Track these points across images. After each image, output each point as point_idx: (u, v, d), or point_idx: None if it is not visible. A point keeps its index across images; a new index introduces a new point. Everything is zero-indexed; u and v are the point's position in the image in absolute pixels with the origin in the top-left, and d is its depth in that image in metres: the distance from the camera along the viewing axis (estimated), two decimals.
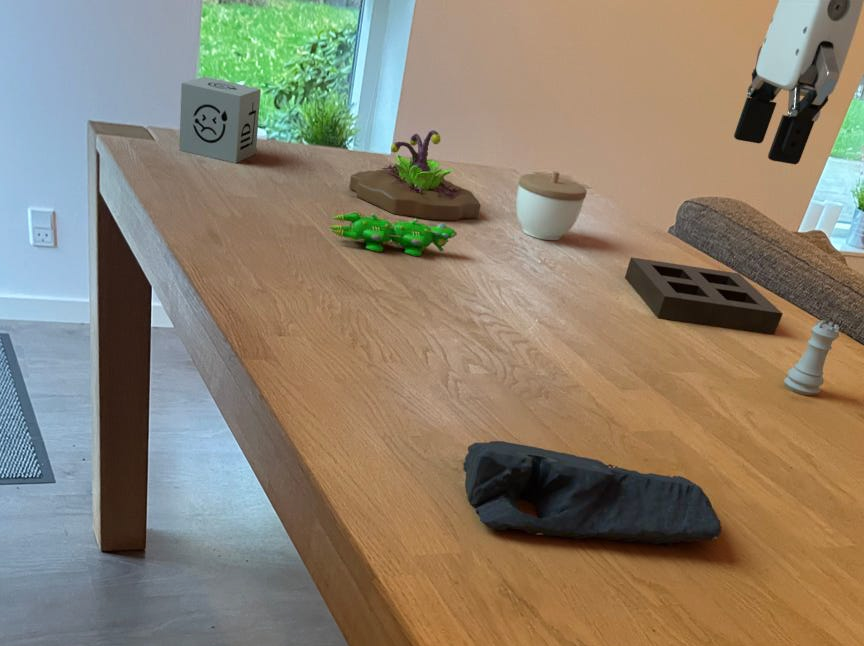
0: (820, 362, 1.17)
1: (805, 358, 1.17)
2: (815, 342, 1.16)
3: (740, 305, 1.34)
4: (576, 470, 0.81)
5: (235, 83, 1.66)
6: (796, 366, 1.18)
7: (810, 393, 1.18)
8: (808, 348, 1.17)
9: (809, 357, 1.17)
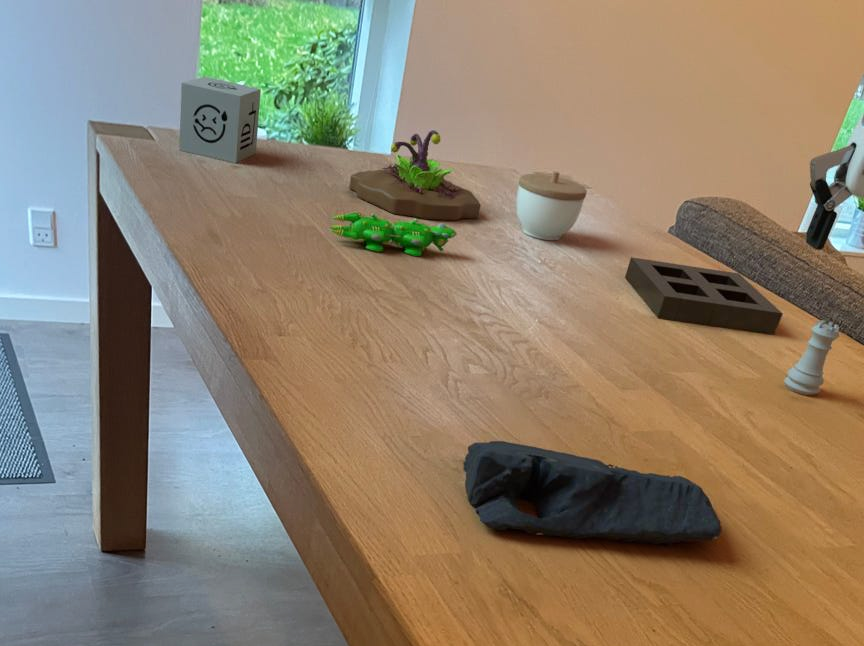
0: (820, 362, 1.17)
1: (805, 358, 1.17)
2: (815, 342, 1.16)
3: (740, 305, 1.34)
4: (576, 470, 0.81)
5: (235, 83, 1.66)
6: (796, 366, 1.18)
7: (810, 393, 1.18)
8: (808, 348, 1.17)
9: (809, 357, 1.17)
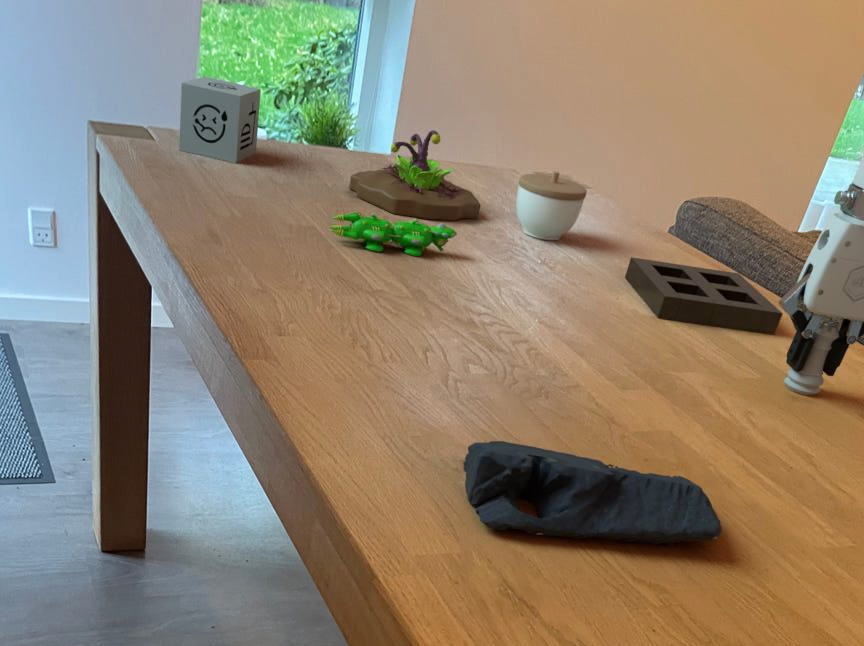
0: (820, 362, 1.17)
1: None
2: (815, 342, 1.16)
3: (740, 305, 1.34)
4: (576, 470, 0.81)
5: (235, 83, 1.66)
6: None
7: (810, 393, 1.18)
8: None
9: (809, 357, 1.17)
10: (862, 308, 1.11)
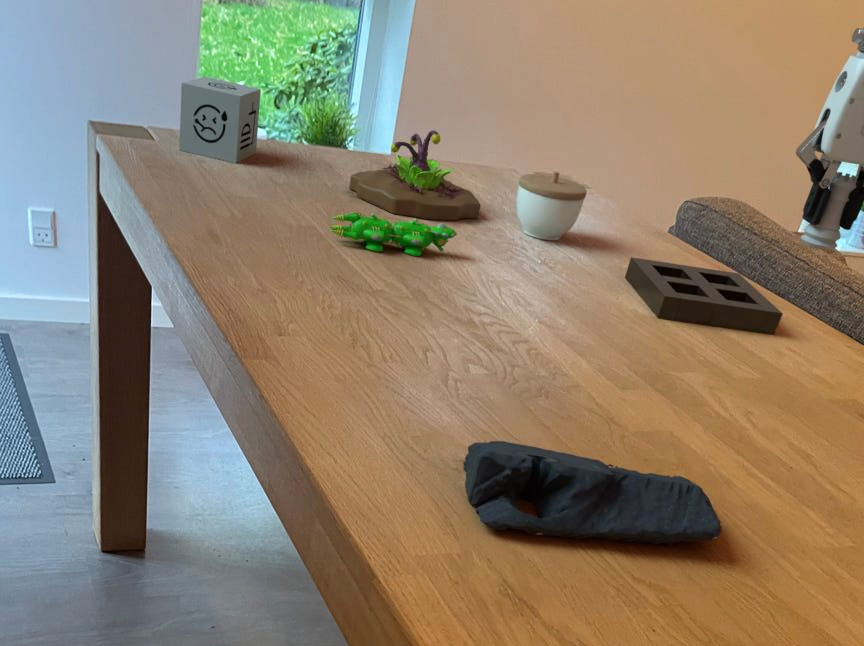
0: (838, 214, 1.16)
1: None
2: (833, 193, 1.15)
3: (740, 305, 1.34)
4: (576, 470, 0.81)
5: (235, 83, 1.66)
6: None
7: (827, 248, 1.17)
8: None
9: (826, 210, 1.16)
10: None
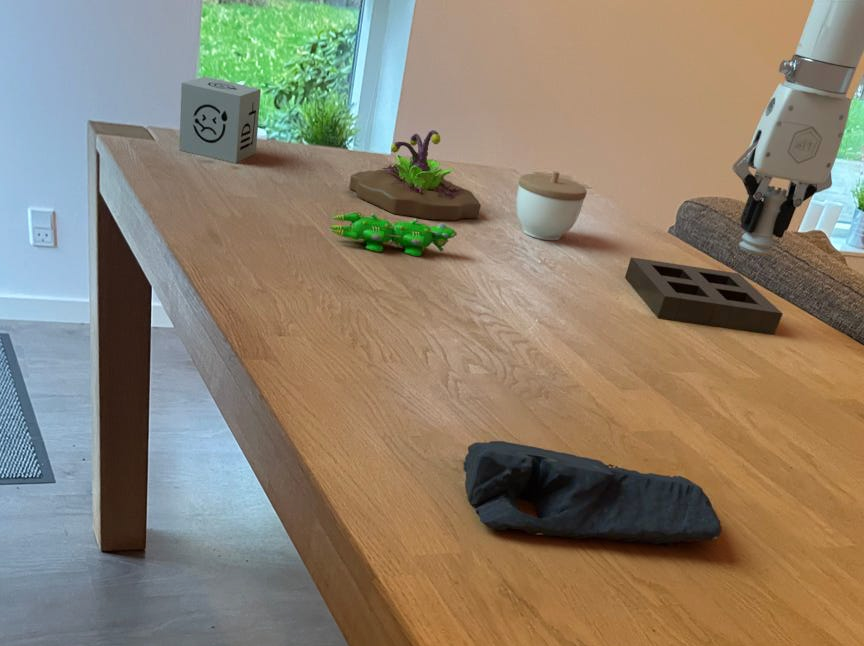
0: (770, 224, 1.30)
1: None
2: (766, 205, 1.29)
3: (740, 305, 1.34)
4: (576, 470, 0.81)
5: (235, 83, 1.66)
6: None
7: (762, 253, 1.32)
8: None
9: (760, 219, 1.30)
10: (805, 170, 1.25)
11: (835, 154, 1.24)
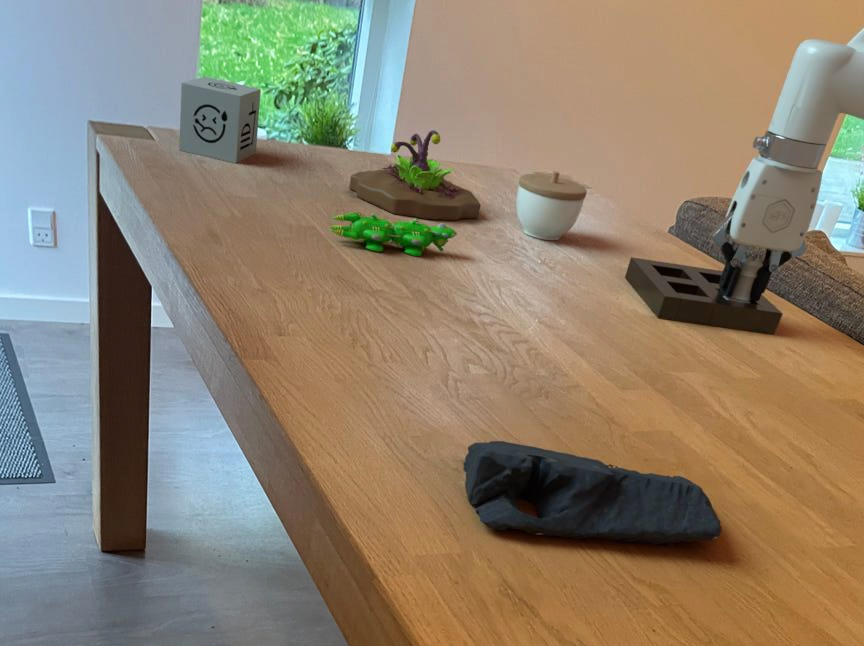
0: (747, 288, 1.35)
1: None
2: (743, 270, 1.34)
3: (740, 305, 1.34)
4: (576, 470, 0.81)
5: (235, 83, 1.66)
6: None
7: None
8: None
9: (737, 284, 1.35)
10: (780, 239, 1.30)
11: (808, 224, 1.29)
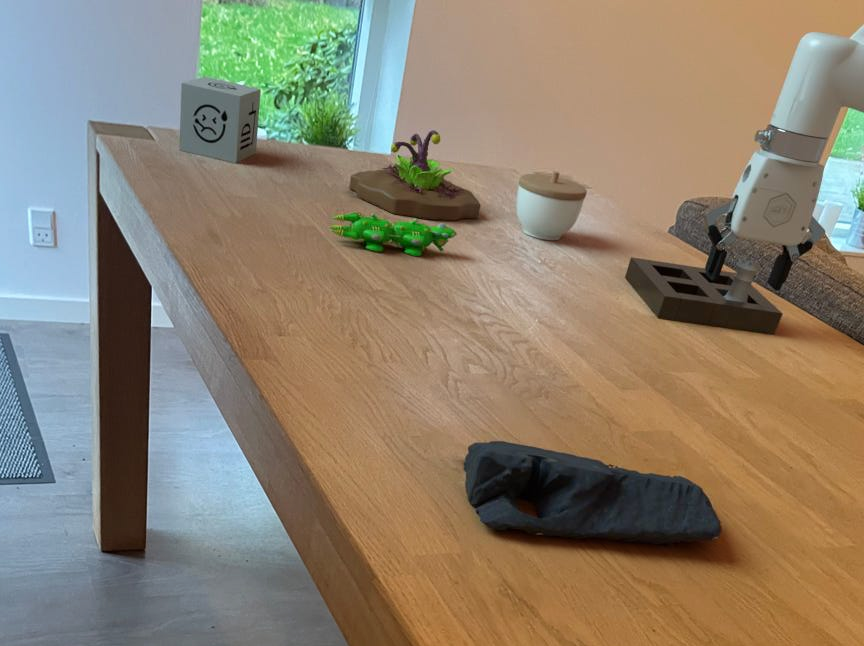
0: (744, 292, 1.36)
1: (731, 290, 1.36)
2: (739, 275, 1.35)
3: (740, 305, 1.34)
4: (576, 470, 0.81)
5: (235, 83, 1.66)
6: (724, 297, 1.37)
7: None
8: (734, 281, 1.36)
9: (734, 288, 1.36)
10: (781, 233, 1.30)
11: (809, 218, 1.29)
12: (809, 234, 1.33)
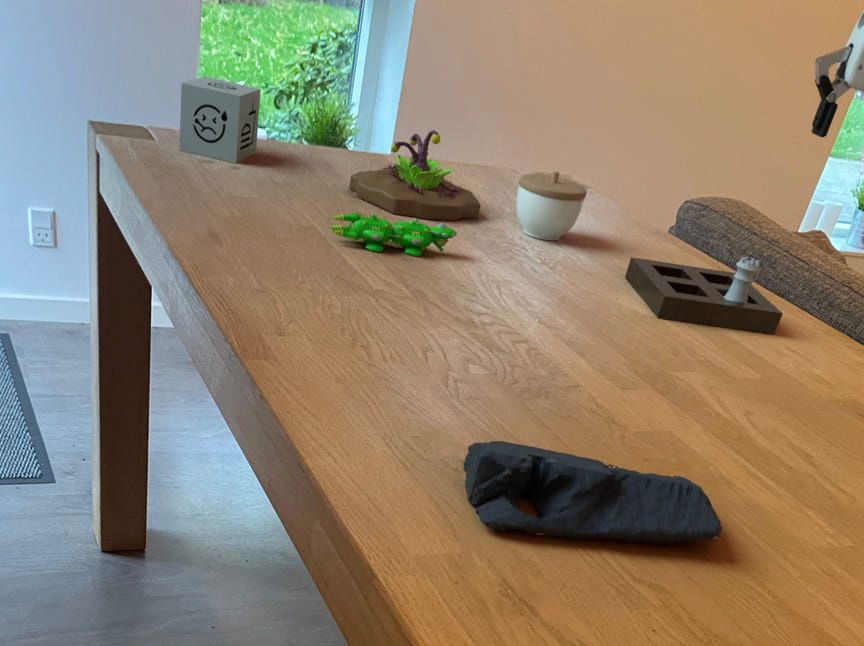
0: (744, 292, 1.36)
1: (731, 290, 1.36)
2: (739, 275, 1.35)
3: (740, 305, 1.34)
4: (576, 470, 0.81)
5: (235, 83, 1.66)
6: (724, 297, 1.37)
7: None
8: (734, 281, 1.36)
9: (734, 288, 1.36)
10: None
11: None
12: None
